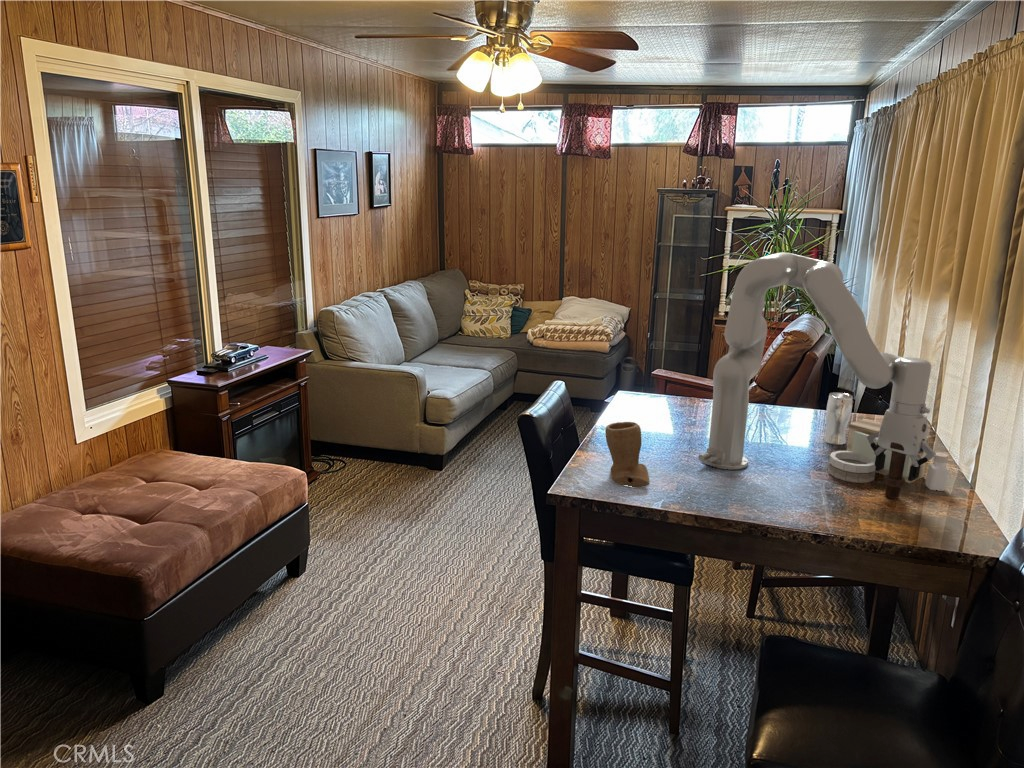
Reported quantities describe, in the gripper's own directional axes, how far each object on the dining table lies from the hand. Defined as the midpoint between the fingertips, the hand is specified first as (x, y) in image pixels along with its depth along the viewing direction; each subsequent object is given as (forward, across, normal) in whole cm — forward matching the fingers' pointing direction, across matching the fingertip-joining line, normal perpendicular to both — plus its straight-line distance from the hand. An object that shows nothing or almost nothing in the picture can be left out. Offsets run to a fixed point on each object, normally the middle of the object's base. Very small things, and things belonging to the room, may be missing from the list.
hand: (895, 474), depth 184 cm
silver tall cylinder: (+6, +31, -28) cm, 42 cm away
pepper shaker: (+6, -4, -15) cm, 17 cm away
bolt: (+6, 0, 0) cm, 6 cm away
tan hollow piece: (+6, +48, +47) cm, 67 cm away
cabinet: (+6, +11, -11) cm, 16 cm away
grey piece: (+3, +11, -6) cm, 12 cm away
